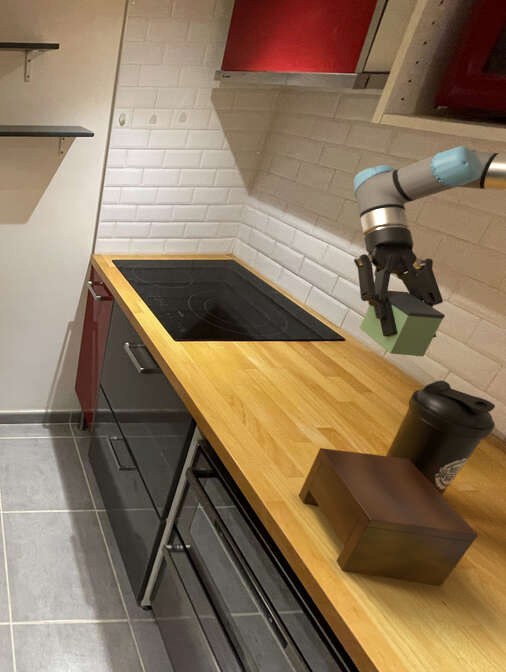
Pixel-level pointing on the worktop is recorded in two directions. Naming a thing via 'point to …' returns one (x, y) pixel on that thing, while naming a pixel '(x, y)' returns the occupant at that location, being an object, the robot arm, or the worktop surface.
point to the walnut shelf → (387, 516)
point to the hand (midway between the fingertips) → (409, 336)
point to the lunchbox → (405, 325)
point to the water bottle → (441, 431)
